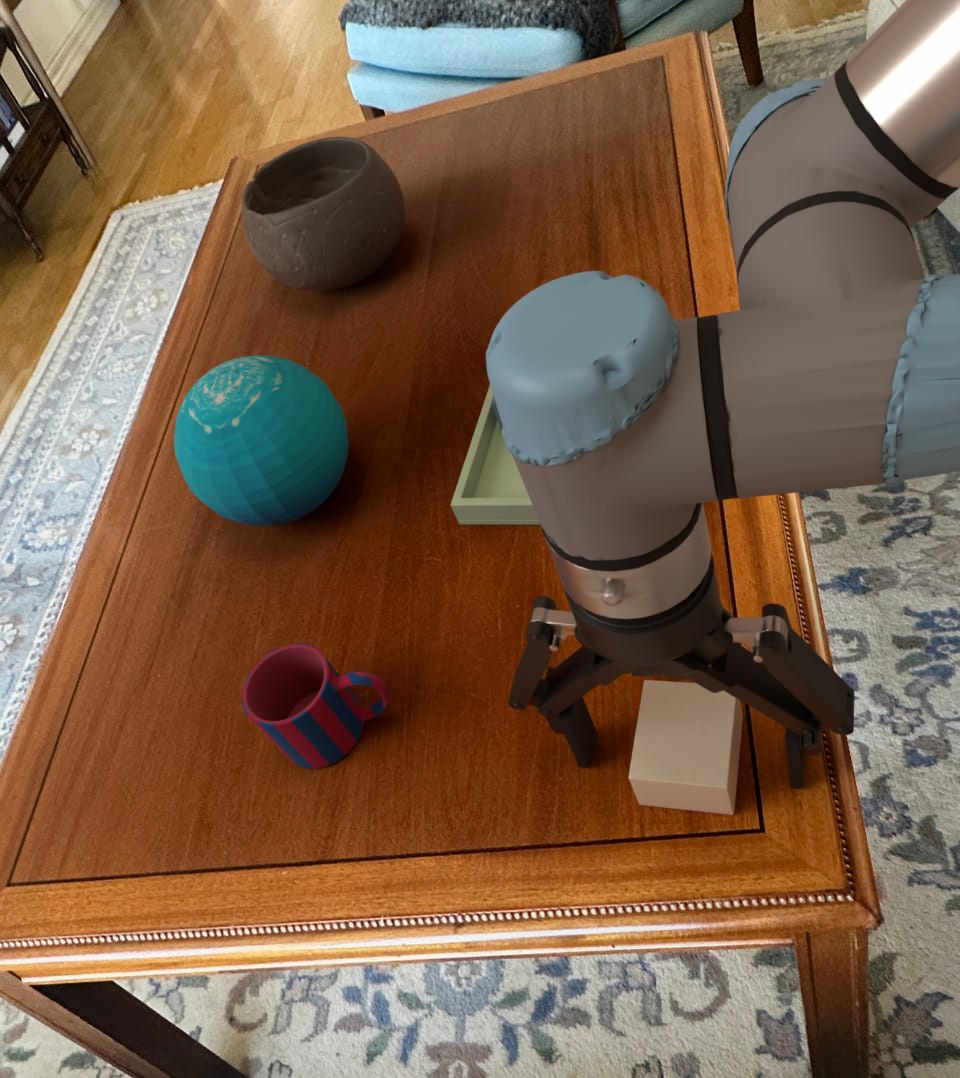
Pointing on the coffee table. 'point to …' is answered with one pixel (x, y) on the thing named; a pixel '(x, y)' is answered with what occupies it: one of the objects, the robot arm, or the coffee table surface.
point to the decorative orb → (261, 440)
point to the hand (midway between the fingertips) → (688, 758)
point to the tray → (491, 479)
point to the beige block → (686, 748)
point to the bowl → (323, 214)
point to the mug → (309, 704)
